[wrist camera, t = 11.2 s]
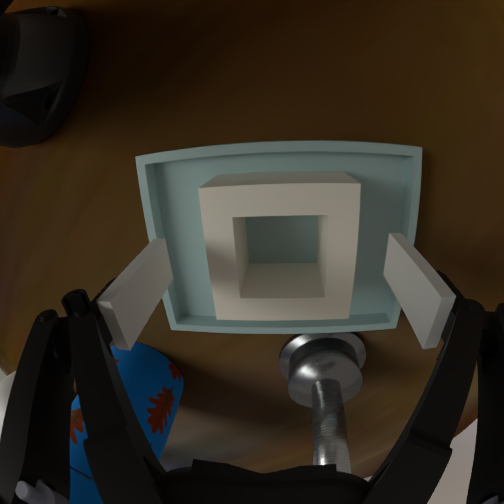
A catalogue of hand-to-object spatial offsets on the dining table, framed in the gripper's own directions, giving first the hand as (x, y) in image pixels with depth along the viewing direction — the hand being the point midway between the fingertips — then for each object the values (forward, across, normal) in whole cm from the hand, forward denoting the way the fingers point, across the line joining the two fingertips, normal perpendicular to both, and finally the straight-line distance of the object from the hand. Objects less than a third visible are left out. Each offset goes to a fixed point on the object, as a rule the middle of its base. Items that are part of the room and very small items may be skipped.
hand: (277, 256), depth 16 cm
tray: (+6, 0, -2) cm, 6 cm away
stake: (+6, +4, -15) cm, 16 cm away
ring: (+6, 0, -1) cm, 6 cm away
